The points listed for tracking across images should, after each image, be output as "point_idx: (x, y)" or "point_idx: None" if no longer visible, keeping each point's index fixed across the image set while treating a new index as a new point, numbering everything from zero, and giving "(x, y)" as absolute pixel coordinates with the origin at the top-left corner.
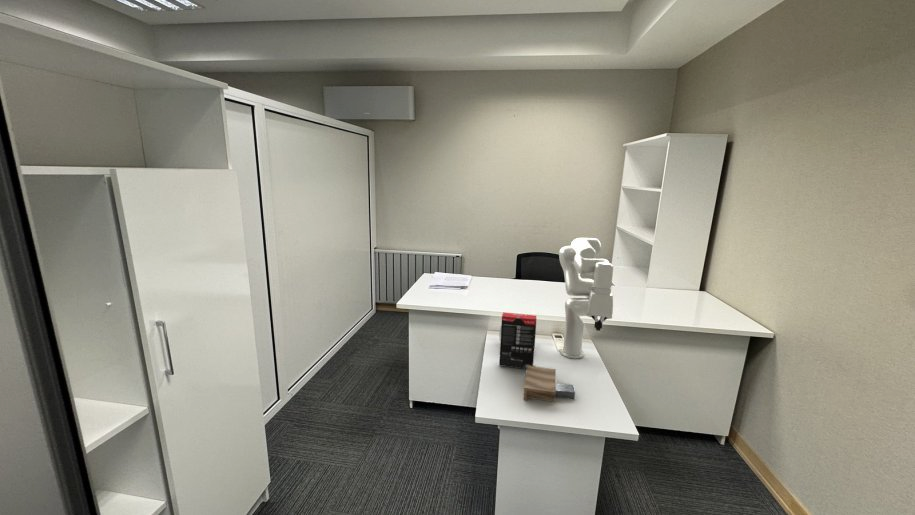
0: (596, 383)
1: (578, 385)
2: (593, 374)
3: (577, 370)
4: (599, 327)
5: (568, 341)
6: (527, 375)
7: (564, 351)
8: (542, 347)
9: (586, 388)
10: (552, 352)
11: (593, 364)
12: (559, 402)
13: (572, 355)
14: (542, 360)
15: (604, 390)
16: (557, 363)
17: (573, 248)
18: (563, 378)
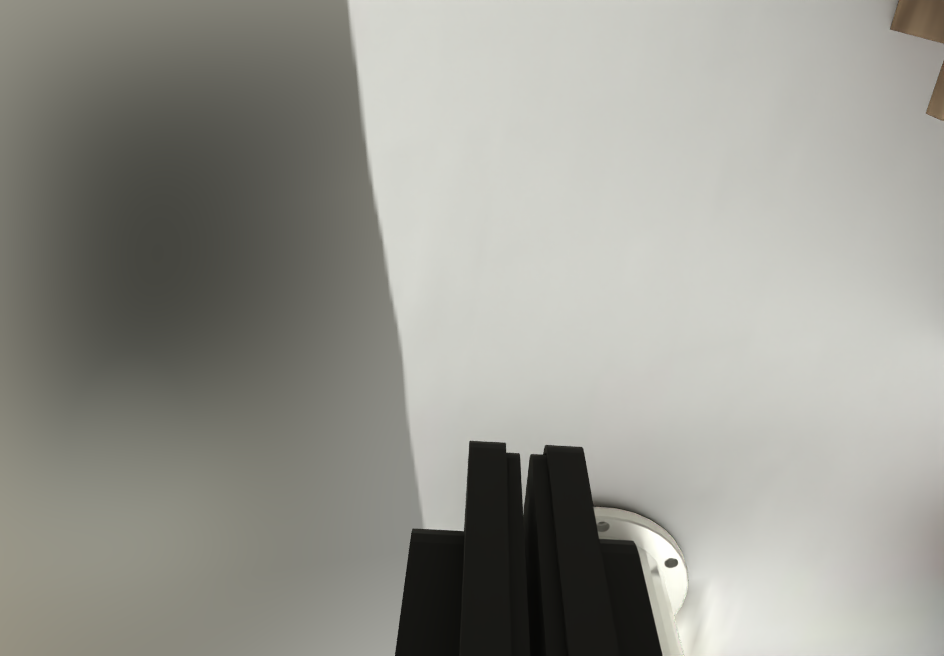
0: (459, 137)
1: (644, 56)
2: (463, 294)
3: (596, 333)
4: (501, 513)
5: (664, 648)
6: None
7: (662, 575)
8: (811, 622)
9: (574, 12)
10: (748, 567)
11: (440, 452)
12: None
13: (601, 536)
14: (876, 437)
15: (399, 15)
16: (751, 413)
17: None
18: (765, 162)
